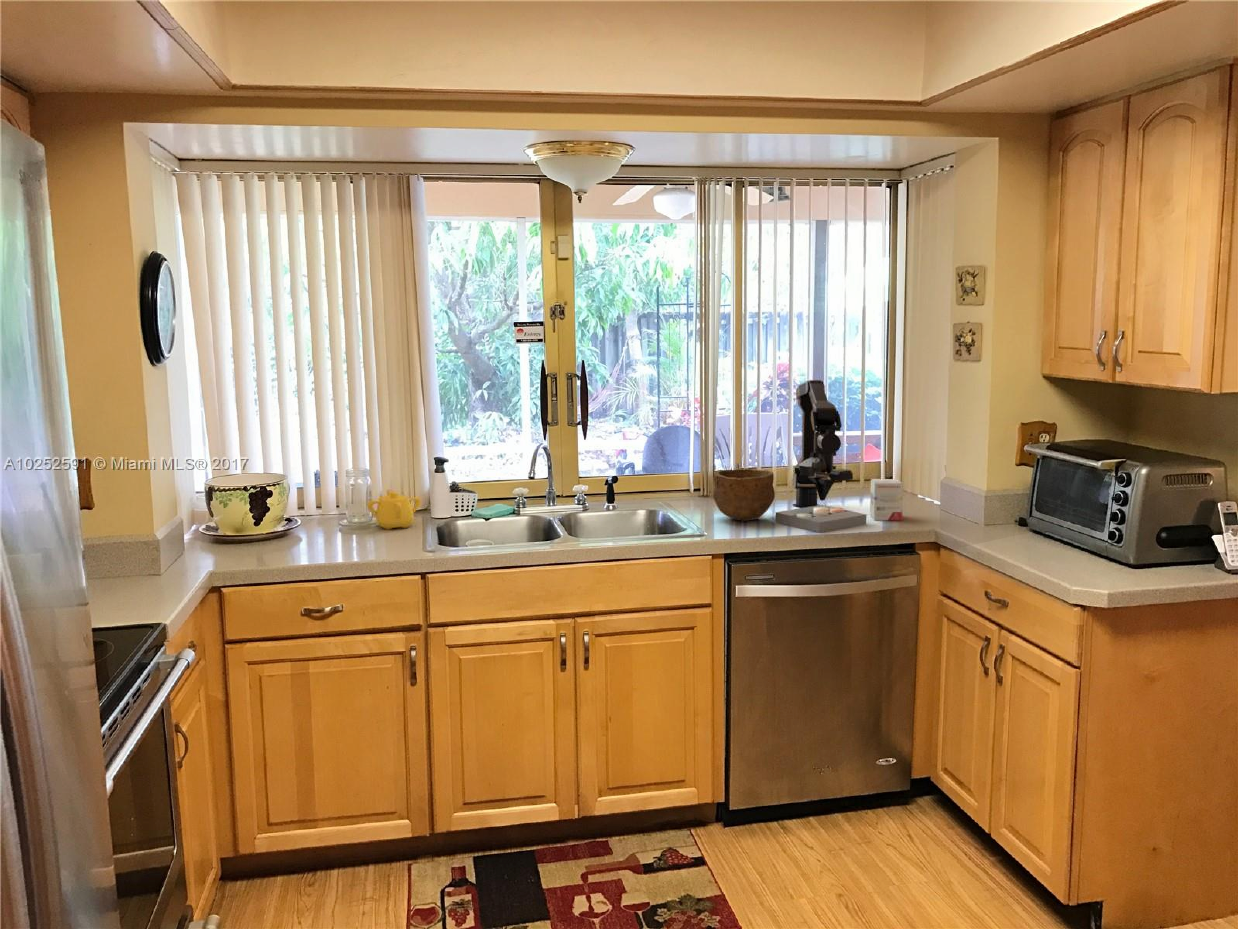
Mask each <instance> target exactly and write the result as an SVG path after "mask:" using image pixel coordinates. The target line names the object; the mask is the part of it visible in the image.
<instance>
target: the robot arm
mask: <svg viewBox="0 0 1238 929" xmlns="http://www.w3.org/2000/svg"><path fill="white" fill-rule="evenodd" d="M795 398H796V400H797V406H798V407H799V409H800V411H801V412H802V416H801V417H802V420H801V421H802V422H801V424H802V425H801V429H802V430H801V457H800V459H799V460H798V461H797V464H796V465H795V467H794V473H793V477H792V487H793V488H794V489H795V490H796V492H795V493H796V495H795V503H792V506H794V507H798V508H806V507H812V506H818V505H819V504H818V498H819V500H820V501H823V502H824V501H825V500H826V498H827V496H828V494H829V492H830V490H831V488H832V487H833V485H834V483H835V482H845V481H852V480H854V473H853V471H852V470H851V469H845V468H837V466H836V465H834V457H835V456H837V452H838V451H839V450H840V448H841V445H842V442H841V439H840V437H839V436H838V435H837V434H836V432H840V431H841V428H842V421H841V420H842V419H841V416H840V413H839V411H838V410H837V408H836V406H835V405H834V404H833V403H831V402H829V400H828V397H827V394H826V387H825V384H824V381H823V380H821V379H809V380H806V381H805V382H804V383H801V384H799V385H798V386H797V387H796V390H795Z"/></svg>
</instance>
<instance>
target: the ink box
mask: <svg viewBox="0 0 1238 929" xmlns="http://www.w3.org/2000/svg"><path fill="white" fill-rule="evenodd" d="M903 487H904V484H903V482H901V481H900V480H899V479H898V478H896V479H895V478H894V479H893V478H891V479H890V478H871V479H870V499H869V500H870V503H869V505H870V506H869V516H870V518H872V519H873V520H874V521H901V520H903V496H904V495H903V493H904V492H903V491H904V488H903Z"/></svg>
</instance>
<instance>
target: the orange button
mask: <svg viewBox="0 0 1238 929" xmlns="http://www.w3.org/2000/svg"><path fill="white" fill-rule="evenodd" d="M845 510H846V509H844V508H842V507H841V508H839V507H835V508H831V509H830V512H835V513H841V512H845Z"/></svg>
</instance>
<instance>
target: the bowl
mask: <svg viewBox="0 0 1238 929" xmlns="http://www.w3.org/2000/svg"><path fill="white" fill-rule="evenodd" d="M774 477H775V476H774V471H770V470H765V469H764V470H761V469H756V468H755V469H754V468H752V469H751V468H736V469H730V470H729V469H724V470H723V469H717V470H716V471H714V472H713V487H712V499H713V501H714V503H715V505H716V507H717V508H718V510H719V511H720V512H721V513H722V514H723V515H725V516H727V517H728V518H731V519H733V520H738V521H750V520H751V521H752V520H755V519H758V518H760V517H762V516H763V515H764V514H765V513H766V512H768V510H769V508H770V507H771V505H772V504H773V502H774V501H775V497H776V494H775V488H774V479H775V478H774Z"/></svg>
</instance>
